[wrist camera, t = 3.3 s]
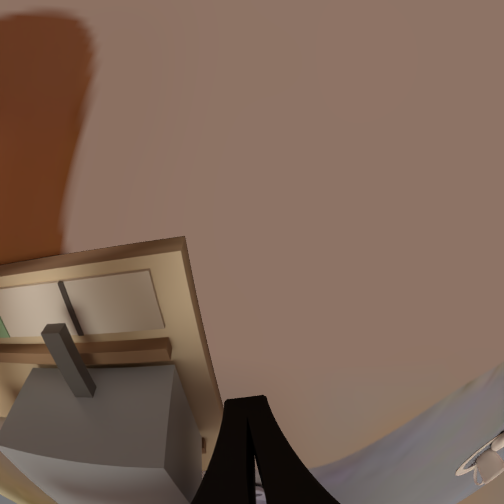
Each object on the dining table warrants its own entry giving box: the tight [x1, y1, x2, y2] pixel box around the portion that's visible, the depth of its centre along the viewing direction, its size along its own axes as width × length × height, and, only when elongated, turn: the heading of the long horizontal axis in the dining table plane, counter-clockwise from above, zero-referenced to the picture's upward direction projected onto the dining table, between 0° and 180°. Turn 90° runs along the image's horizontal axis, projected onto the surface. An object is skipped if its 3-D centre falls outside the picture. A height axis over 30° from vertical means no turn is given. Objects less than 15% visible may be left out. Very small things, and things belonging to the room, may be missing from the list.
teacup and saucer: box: [455, 433, 504, 485], centre depth 21 cm, size 9×8×4 cm
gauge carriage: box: [0, 323, 202, 504], centre depth 8 cm, size 9×7×4 cm
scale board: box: [0, 236, 224, 471], centre depth 9 cm, size 18×12×6 cm, turn 96°
